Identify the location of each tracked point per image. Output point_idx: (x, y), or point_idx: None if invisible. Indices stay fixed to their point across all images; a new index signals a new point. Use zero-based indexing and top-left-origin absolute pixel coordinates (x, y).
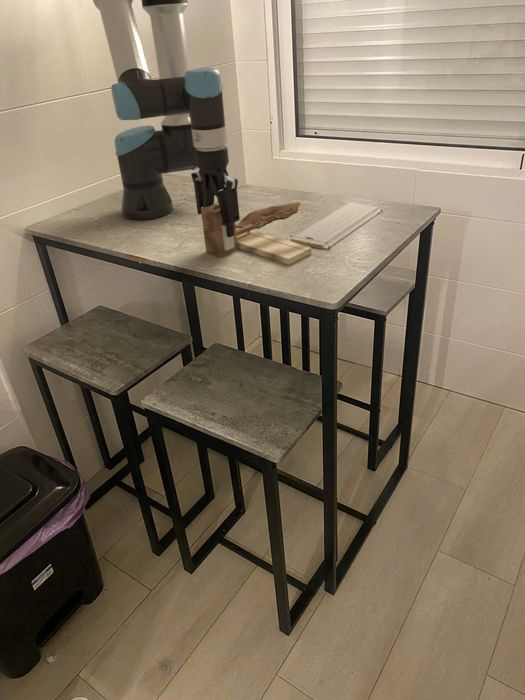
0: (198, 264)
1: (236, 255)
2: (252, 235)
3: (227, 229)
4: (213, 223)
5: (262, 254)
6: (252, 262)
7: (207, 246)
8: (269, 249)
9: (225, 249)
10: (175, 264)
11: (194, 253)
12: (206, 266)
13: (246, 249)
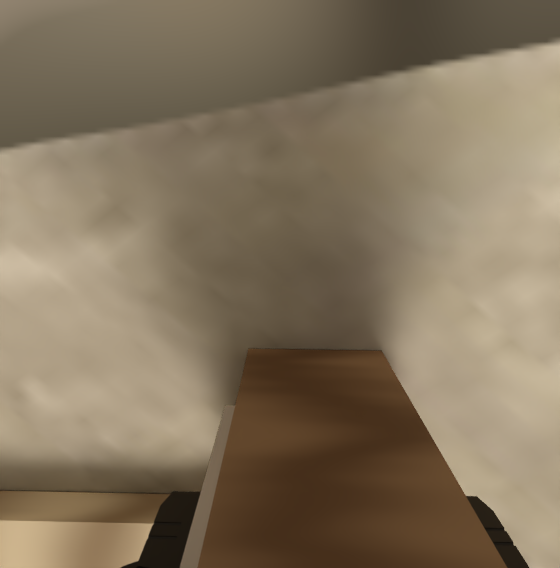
0: (278, 189)
1: (187, 421)
2: None
3: (173, 552)
4: (254, 536)
5: (52, 499)
6: (33, 405)
7: (369, 370)
8: (12, 548)
9: (232, 410)
10: (421, 85)
11: (440, 296)
12: (208, 200)
13: None
